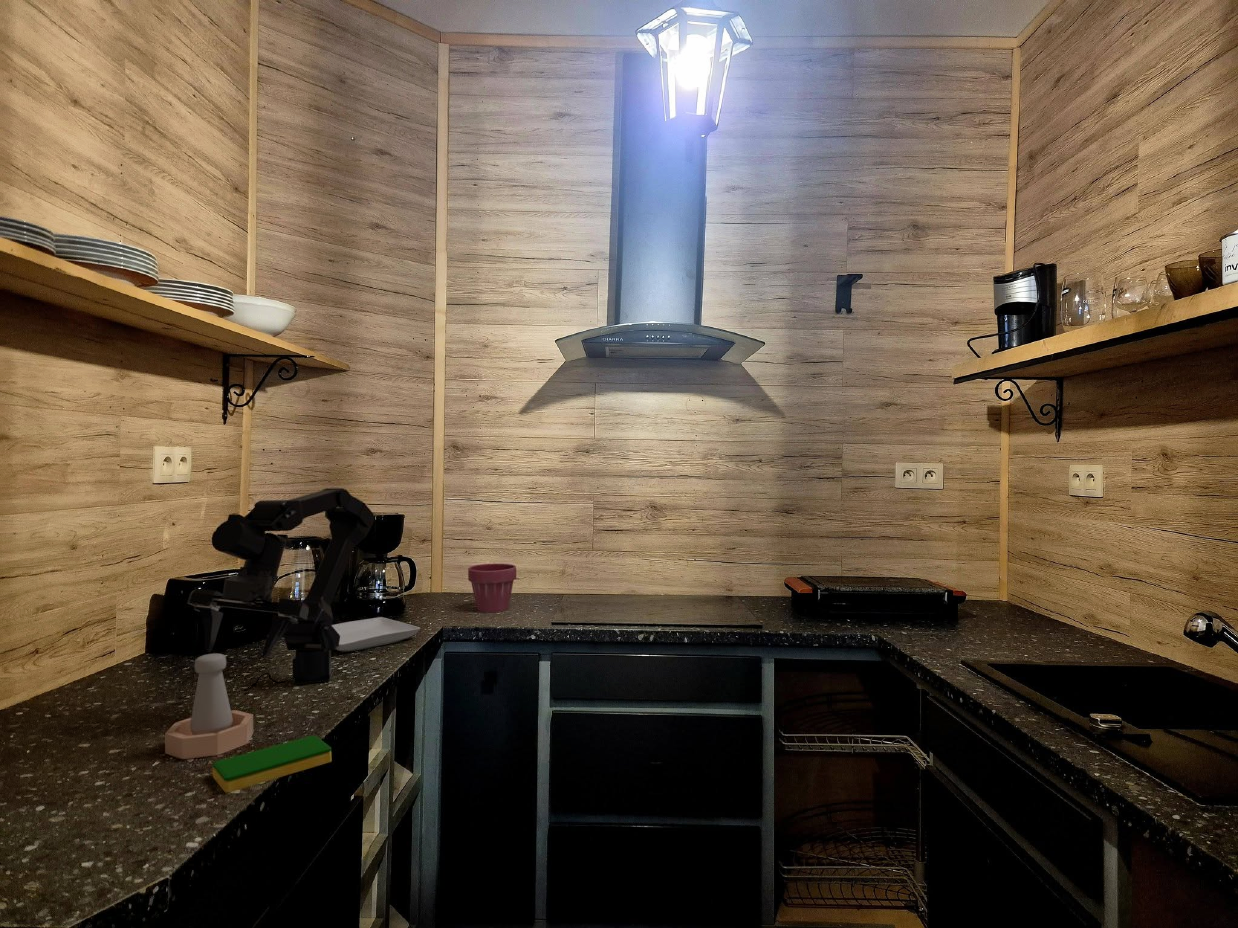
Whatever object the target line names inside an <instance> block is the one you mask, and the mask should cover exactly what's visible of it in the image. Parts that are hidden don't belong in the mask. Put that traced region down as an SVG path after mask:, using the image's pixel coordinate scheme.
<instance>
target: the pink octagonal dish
mask: <svg viewBox="0 0 1238 928" xmlns="http://www.w3.org/2000/svg"><path fill="white" fill-rule="evenodd" d="M231 713H232V718H233V722H232V725H231V727H230V728H228V729H226V730H223V731H220V732H217V733H210V734H201V735H193V734H192V732H191V729H190V723H191V717H188V718H186V719H182V720H180V721H177V722H174V724H172V726H171V727H169V729H168V730H167V731H166V732H165V733H164V744H165V745H164V748H165V750H164V752H165V753H164V754H166V755H168V756H169V755H170V756H172V757H175V758H177V759H181V760H188V759H196V758H204V757H211V756H212V757H213V756H219V755H221V754H224V753H226V752H227V753H228V752H230V751H232V750H234V749H238V748H240V747H242V746H245V745H247V744H248V743H249V741H250V739H251V737H252V736H253V734H254V714H253V713H249V712H244V711H240V710H235V709H234V710H231Z"/></svg>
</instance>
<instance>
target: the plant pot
mask: <svg viewBox="0 0 1238 928" xmlns="http://www.w3.org/2000/svg"><path fill="white" fill-rule="evenodd" d="M467 573H468V574H467V575H468V577H467V579H468V581H469V582H470V583H471V587H472V593H473V598H474V601H475V606H476V611H478V612H480V613H487V614H491V613H494V614H495V613H501V612H504V611H507V610H509V605H510V602H511V601H510V600H511V597H512V592H513V591H512V590H513V586H514V581H515V580H516V579H517V566H516V565H514V564H509V563H484V564H483V563H481V564H475V565H471V566H469V567H468V569H467Z"/></svg>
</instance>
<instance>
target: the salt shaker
mask: <svg viewBox="0 0 1238 928" xmlns="http://www.w3.org/2000/svg"><path fill="white" fill-rule="evenodd" d="M194 661H195V662H194V672H195V673H197V674H198V676H197V677H198V679H197V682H196V683H197V684H196V689H195V696H194V701H193V707H192V712H191V717H190V718H191V723H190V729H191V732H192V734H193V735H201V734H210V733H217V732H220V731H223V730H226V729H228V728H230V727H231V725H232V722H233V718H232V713H231V711H232V710H231V705H230V701H229V696H228V693H227V687H226V682H225V677H224V674H223V670H224V669H226V668H227V657H226V655H224V654H222V653H208V654H203V655H201V656H199V657H196V659H195V660H194Z"/></svg>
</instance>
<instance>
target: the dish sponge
mask: <svg viewBox="0 0 1238 928" xmlns="http://www.w3.org/2000/svg"><path fill="white" fill-rule="evenodd" d="M332 761H333V760H332V747H331V745H329V744H327V743H326V742H325V741H323V740H322V739H321V738H319V737H318V736H317V735H315V734H313V735H309V736H307V737H303V738H298V739H295V740H290V741H287V742H284V743H279V744H276V745H273V746H269V747H265V748H261V749H258V750H254V751H250V752H247V753H243V754H239V755H235V756H232V757H227V758H224V759H221V760H216V761H214V762H212V778H213V779H214V780H215V782H216V783H217V785H218V786H219V787H220V788H221V790H222V791H224V793H225V794H226V793H231V792H235V791H238V789H239V790H241V789H245V788H248V787H252V786H256V785H258V784H262V783H265V782H269V781H272V780H275V779H278V778H282V777H284V776H288V775H291V774H295V773H299V772H302V771H305V770H308V769H312V768H315V767H316V768H317V767H318V766H322V765H325V764H328V763H331V762H332Z"/></svg>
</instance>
